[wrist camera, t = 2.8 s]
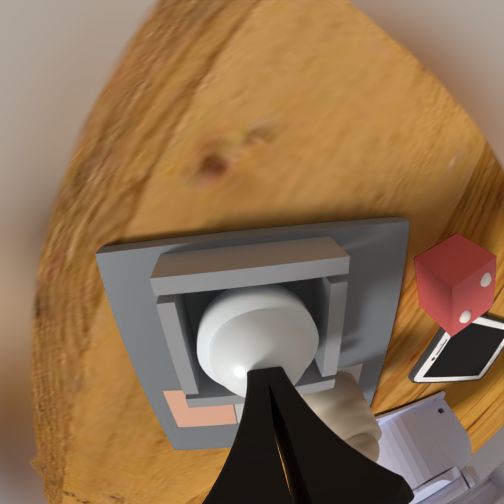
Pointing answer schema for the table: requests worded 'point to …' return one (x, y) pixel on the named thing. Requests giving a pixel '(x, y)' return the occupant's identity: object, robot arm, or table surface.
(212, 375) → the dome
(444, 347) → the cell phone
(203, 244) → the game board
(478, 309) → the red die
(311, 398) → the pawn
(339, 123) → the table surface
